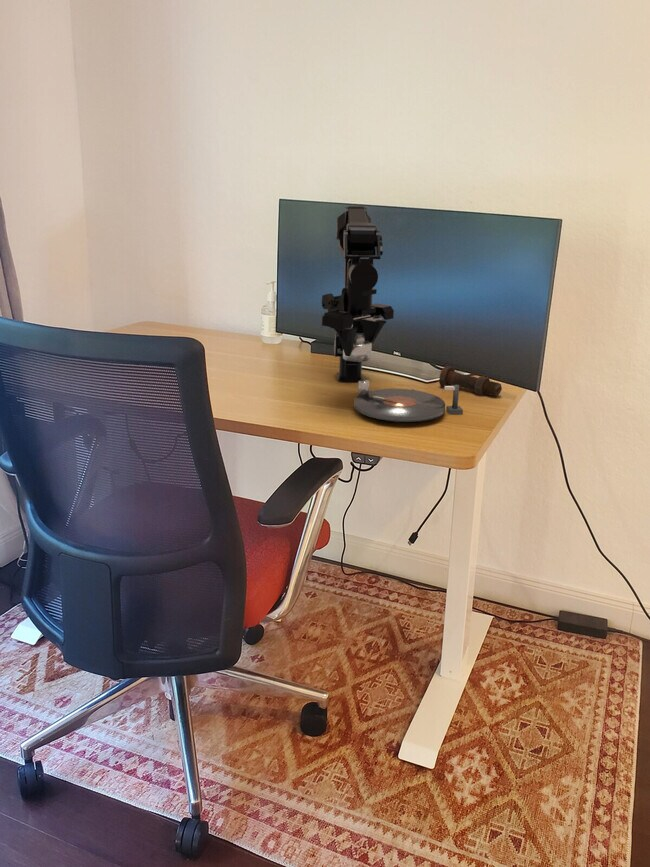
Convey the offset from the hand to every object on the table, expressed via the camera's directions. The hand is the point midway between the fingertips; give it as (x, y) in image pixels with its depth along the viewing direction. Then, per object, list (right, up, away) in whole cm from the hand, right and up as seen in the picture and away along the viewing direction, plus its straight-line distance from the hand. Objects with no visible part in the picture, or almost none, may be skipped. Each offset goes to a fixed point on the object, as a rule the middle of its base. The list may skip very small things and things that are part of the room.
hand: (357, 353), depth 170 cm
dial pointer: (+22, -13, -2) cm, 25 cm away
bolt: (+28, -8, +13) cm, 32 cm away
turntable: (+9, -12, -4) cm, 16 cm away
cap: (0, -1, 0) cm, 1 cm away
